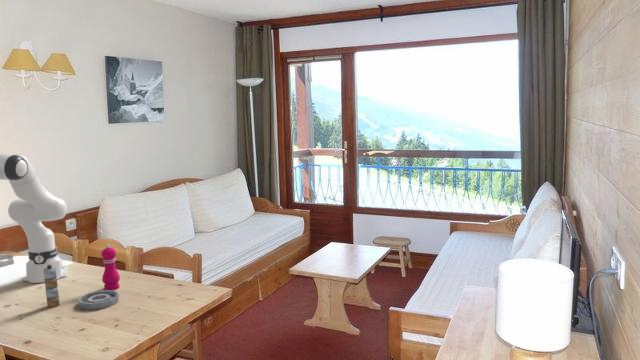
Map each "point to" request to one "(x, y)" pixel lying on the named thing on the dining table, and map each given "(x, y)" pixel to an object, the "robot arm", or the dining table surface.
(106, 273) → the pepper mill
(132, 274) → the dining table surface
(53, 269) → the bead column
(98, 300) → the tray
